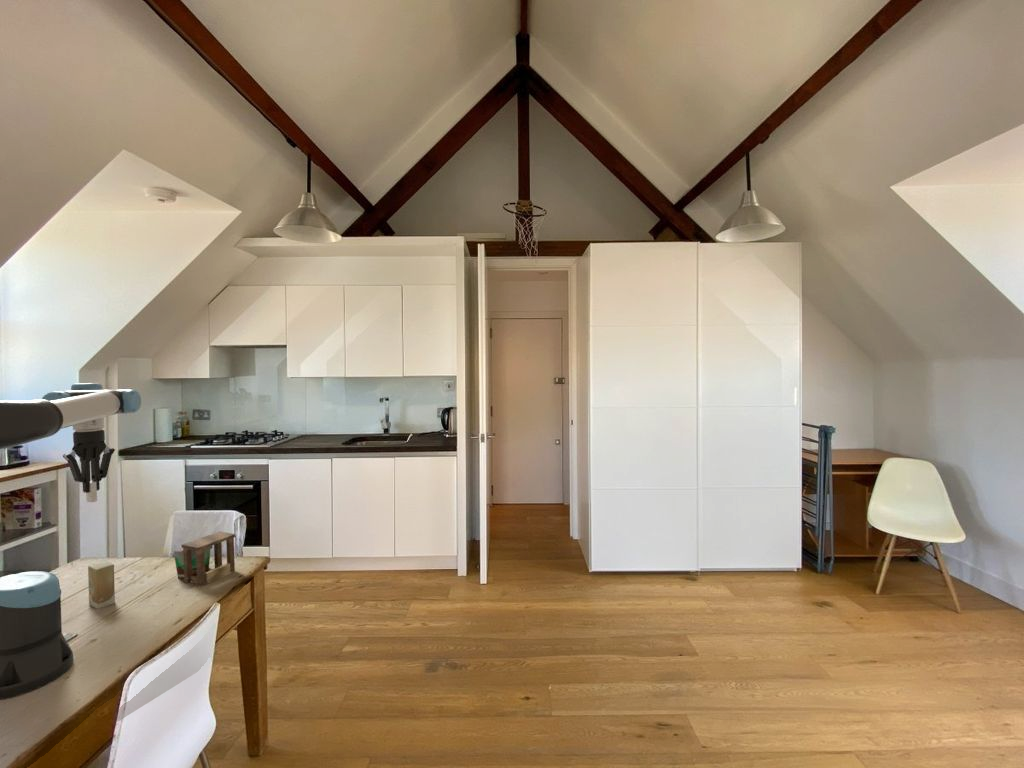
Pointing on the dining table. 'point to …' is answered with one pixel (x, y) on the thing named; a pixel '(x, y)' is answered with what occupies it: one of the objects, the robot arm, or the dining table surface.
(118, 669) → the dining table surface
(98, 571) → the skincare box
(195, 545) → the small wooden bench
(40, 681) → the robot arm
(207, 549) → the food container
